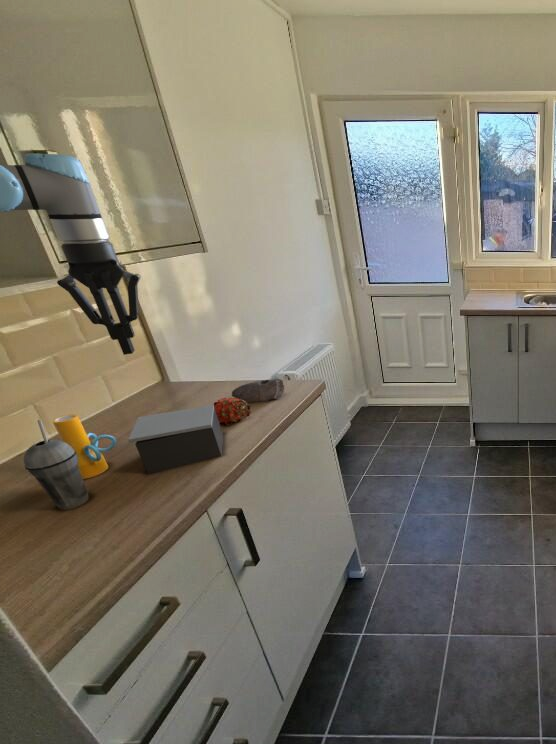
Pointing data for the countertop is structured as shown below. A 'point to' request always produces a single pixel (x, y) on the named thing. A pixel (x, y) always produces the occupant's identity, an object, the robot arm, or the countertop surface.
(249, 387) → the perforated stone tool
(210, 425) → the pod lid
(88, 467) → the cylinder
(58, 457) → the beverage cup
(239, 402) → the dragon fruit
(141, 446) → the dark grey storage bin
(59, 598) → the countertop surface
